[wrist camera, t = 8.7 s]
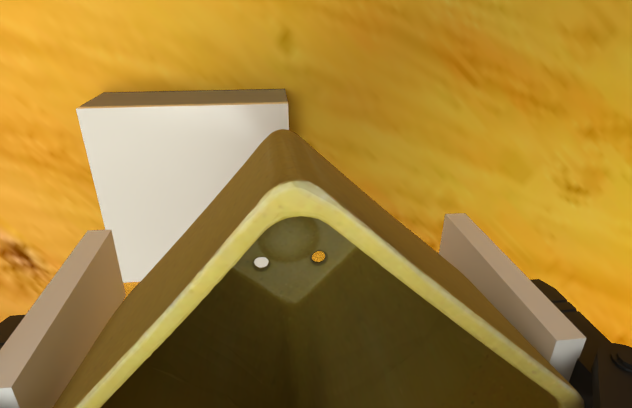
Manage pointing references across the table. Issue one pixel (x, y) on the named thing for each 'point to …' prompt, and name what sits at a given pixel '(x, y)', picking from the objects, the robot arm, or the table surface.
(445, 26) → the table surface
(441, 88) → the table surface
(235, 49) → the table surface
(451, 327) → the flower pot
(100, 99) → the plinth
